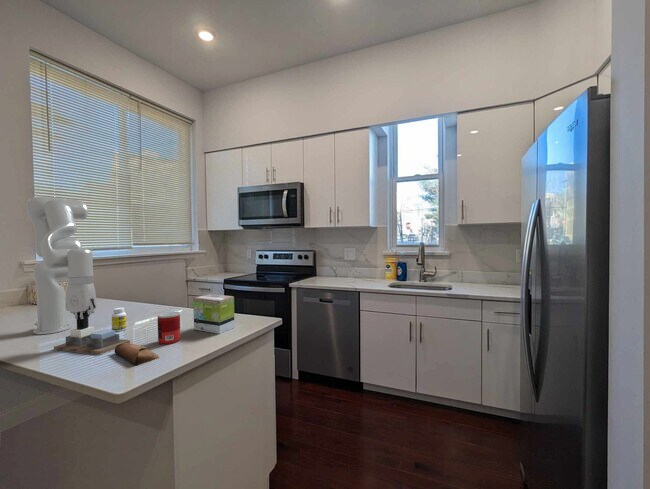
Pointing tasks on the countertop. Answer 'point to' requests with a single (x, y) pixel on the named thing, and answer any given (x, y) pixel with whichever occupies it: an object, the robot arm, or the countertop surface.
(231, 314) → the tea box
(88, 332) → the white key
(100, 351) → the key panel
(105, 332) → the light blue block
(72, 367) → the countertop surface
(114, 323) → the supplement bottle
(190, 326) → the countertop surface
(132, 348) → the sunglasses case
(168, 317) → the canned food
